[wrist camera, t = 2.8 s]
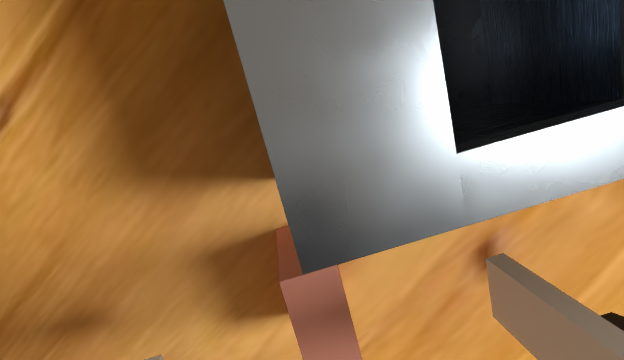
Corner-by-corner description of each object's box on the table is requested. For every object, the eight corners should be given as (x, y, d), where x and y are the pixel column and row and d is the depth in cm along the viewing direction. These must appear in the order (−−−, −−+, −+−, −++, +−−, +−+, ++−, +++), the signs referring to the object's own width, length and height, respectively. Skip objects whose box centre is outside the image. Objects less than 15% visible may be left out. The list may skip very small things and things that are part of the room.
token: (300, 311, 20) (313, 393, 14) (276, 228, 19) (279, 282, 13) (338, 299, 20) (366, 376, 14) (316, 217, 19) (337, 264, 13)
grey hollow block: (283, 178, 18) (303, 274, 7) (214, -64, 15) (88, -463, 5) (501, 117, 19) (799, 126, 8) (473, -123, 16) (864, -571, 6)
